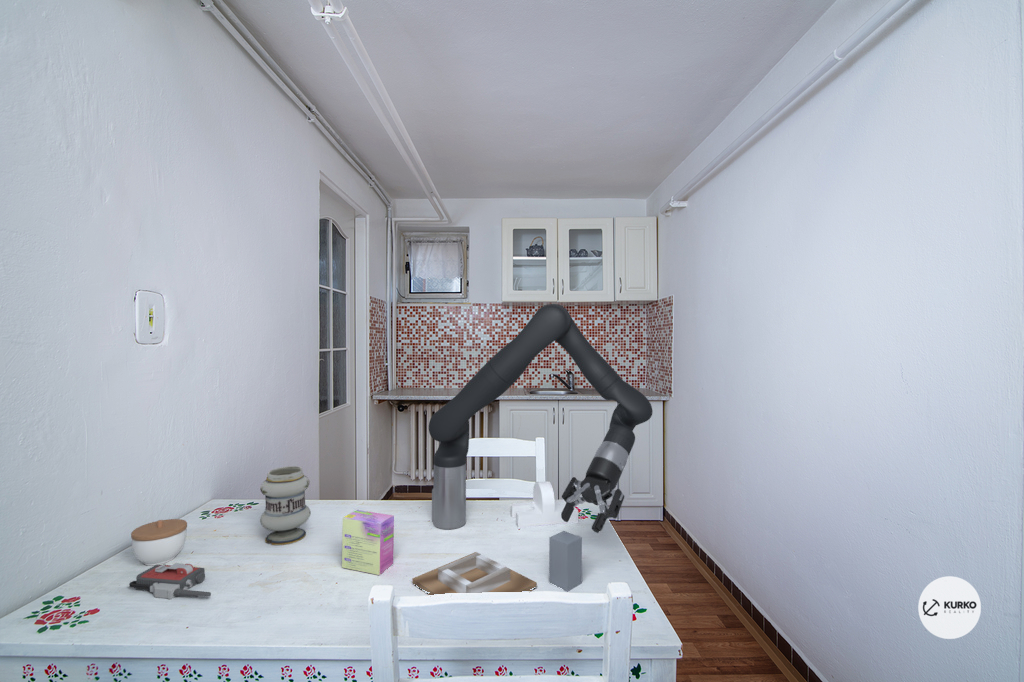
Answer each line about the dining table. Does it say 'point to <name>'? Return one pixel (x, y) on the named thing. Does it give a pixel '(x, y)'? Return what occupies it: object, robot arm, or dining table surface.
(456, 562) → the pocket plate
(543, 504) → the white base with disc
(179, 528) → the lidded jar
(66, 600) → the dining table surface
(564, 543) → the gray rectangular block
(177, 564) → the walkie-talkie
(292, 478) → the apothecary jar
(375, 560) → the box
